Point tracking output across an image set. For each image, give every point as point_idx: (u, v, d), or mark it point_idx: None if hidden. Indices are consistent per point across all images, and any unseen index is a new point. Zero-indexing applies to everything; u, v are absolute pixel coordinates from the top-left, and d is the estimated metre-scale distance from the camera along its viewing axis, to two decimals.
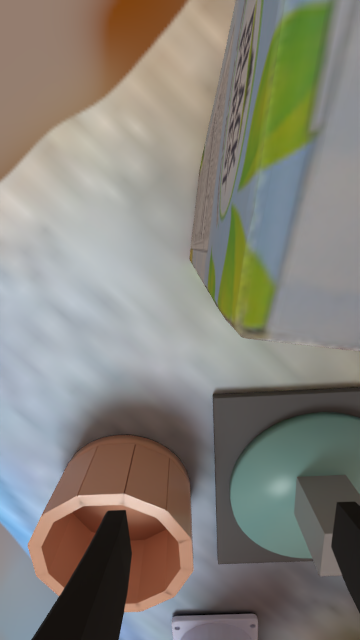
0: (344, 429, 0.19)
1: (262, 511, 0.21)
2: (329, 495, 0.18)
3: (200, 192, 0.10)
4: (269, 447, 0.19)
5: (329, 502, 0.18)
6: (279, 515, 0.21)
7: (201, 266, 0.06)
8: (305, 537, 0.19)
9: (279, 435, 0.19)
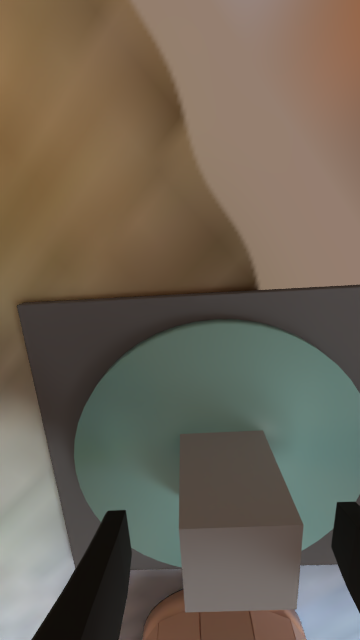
0: (91, 447, 0.12)
1: None
2: None
3: None
4: (131, 534, 0.13)
5: None
6: None
7: None
8: None
9: None
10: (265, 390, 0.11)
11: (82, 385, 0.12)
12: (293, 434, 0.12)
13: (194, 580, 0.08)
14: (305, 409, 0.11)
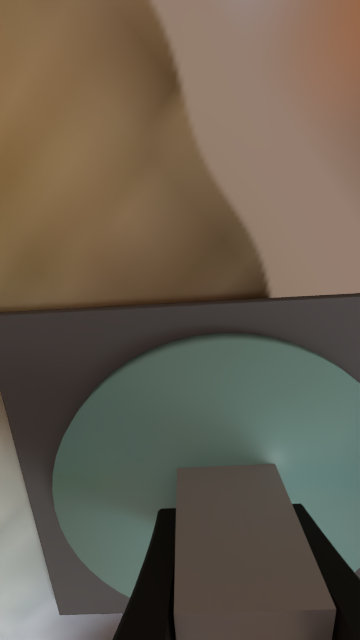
0: (72, 482, 0.10)
1: None
2: None
3: None
4: (120, 578, 0.11)
5: None
6: None
7: None
8: None
9: (96, 567, 0.11)
10: (278, 418, 0.09)
11: (62, 409, 0.10)
12: (310, 468, 0.10)
13: None
14: (326, 440, 0.09)
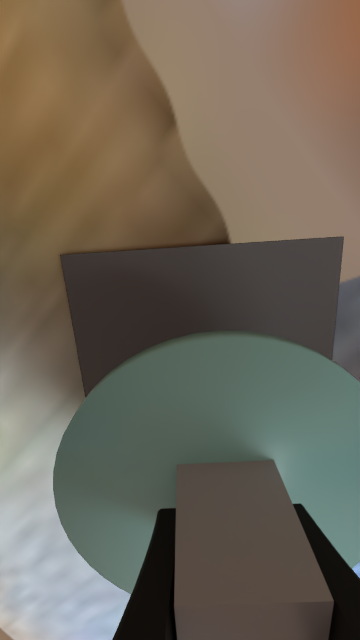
0: (73, 479, 0.10)
1: None
2: None
3: None
4: (121, 574, 0.11)
5: None
6: None
7: None
8: None
9: (96, 563, 0.11)
10: (277, 414, 0.09)
11: (105, 315, 0.16)
12: (309, 464, 0.10)
13: None
14: (324, 436, 0.10)
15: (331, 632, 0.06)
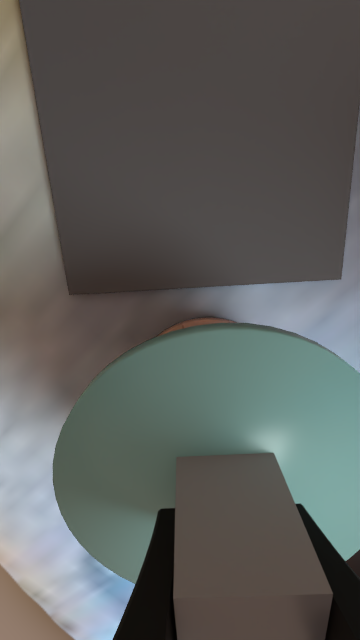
0: (72, 471, 0.10)
1: None
2: None
3: None
4: (121, 563, 0.12)
5: None
6: None
7: None
8: None
9: (97, 553, 0.11)
10: (278, 407, 0.09)
11: (72, 59, 0.13)
12: (309, 457, 0.10)
13: None
14: (324, 429, 0.09)
15: (330, 632, 0.06)
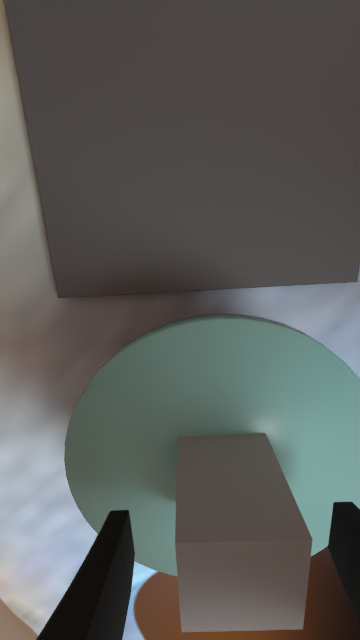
0: (83, 450, 0.11)
1: None
2: None
3: None
4: None
5: None
6: None
7: None
8: None
9: None
10: (269, 390, 0.10)
11: (60, 35, 0.12)
12: (298, 437, 0.11)
13: (191, 598, 0.08)
14: (311, 411, 0.10)
15: None
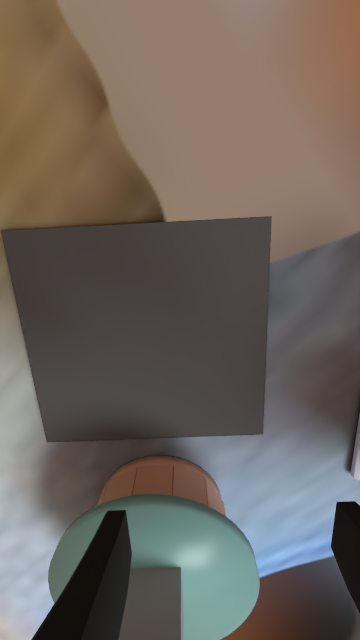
0: (60, 576, 0.17)
1: None
2: None
3: None
4: None
5: None
6: (185, 617, 0.18)
7: None
8: None
9: None
10: (180, 544, 0.16)
11: (47, 290, 0.17)
12: (202, 569, 0.16)
13: None
14: (209, 555, 0.16)
15: None
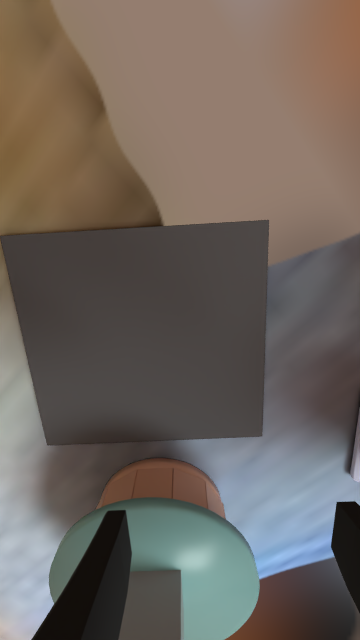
0: (61, 579, 0.17)
1: None
2: None
3: None
4: None
5: None
6: (186, 620, 0.18)
7: None
8: None
9: None
10: (180, 546, 0.16)
11: (46, 294, 0.17)
12: (202, 572, 0.16)
13: None
14: (209, 558, 0.16)
15: None
